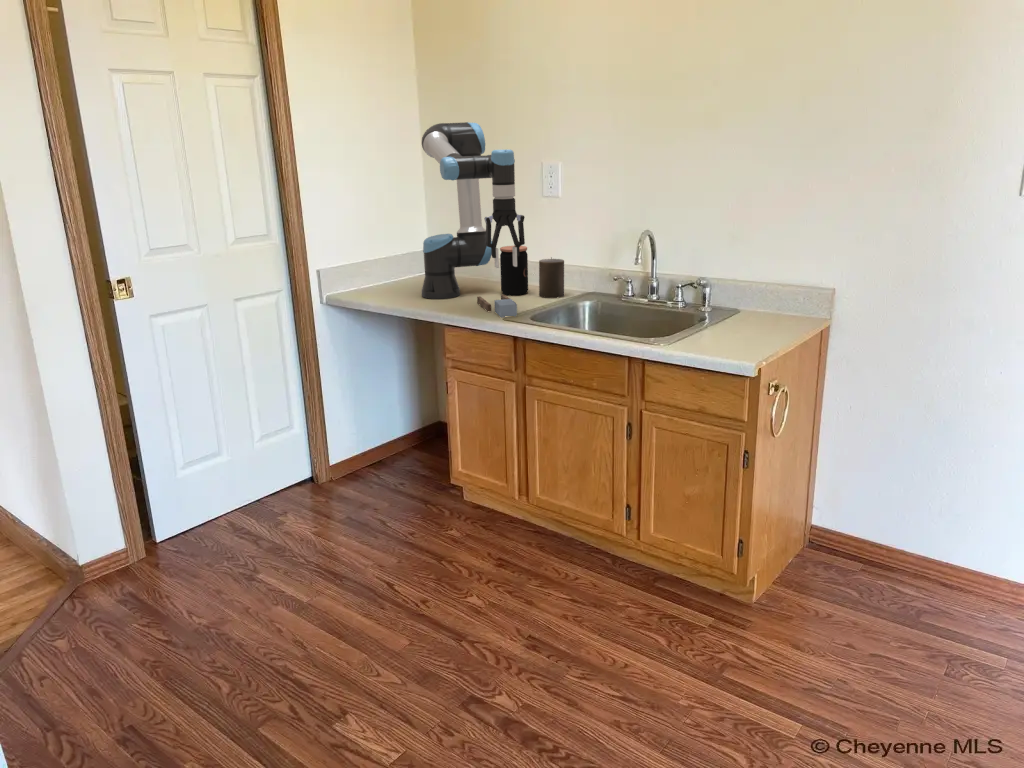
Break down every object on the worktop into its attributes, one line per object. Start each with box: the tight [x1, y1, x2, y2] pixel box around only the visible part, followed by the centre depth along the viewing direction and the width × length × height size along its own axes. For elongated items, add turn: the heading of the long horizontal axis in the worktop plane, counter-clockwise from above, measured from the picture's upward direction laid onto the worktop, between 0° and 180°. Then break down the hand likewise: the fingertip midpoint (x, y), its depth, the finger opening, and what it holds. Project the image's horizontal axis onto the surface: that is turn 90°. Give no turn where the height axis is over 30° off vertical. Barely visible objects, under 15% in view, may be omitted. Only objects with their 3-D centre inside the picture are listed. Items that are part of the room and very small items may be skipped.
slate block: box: [493, 298, 518, 318], centre depth 276 cm, size 9×6×4 cm, turn 13°
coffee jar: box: [499, 245, 529, 297], centre depth 308 cm, size 11×11×18 cm
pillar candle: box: [538, 256, 565, 299], centre depth 302 cm, size 10×10×15 cm
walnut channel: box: [476, 293, 517, 312], centre depth 288 cm, size 16×10×2 cm, turn 16°
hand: (505, 266), depth 270 cm, fingers open, 6 cm apart
